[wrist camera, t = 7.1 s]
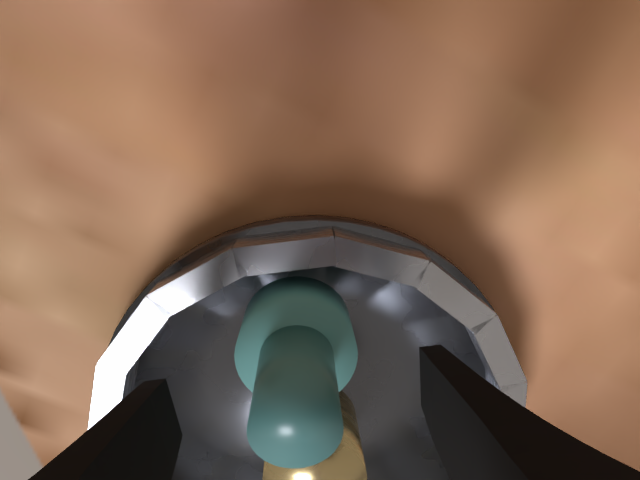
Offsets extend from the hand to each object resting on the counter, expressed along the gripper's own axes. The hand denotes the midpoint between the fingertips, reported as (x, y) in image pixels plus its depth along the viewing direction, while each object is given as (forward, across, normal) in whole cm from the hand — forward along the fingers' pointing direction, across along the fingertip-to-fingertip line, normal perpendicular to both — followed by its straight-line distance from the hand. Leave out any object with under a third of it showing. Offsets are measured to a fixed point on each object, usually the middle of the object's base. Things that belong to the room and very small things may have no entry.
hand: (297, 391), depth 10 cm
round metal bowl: (+4, 0, +4) cm, 6 cm away
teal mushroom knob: (+4, 0, 0) cm, 4 cm away
